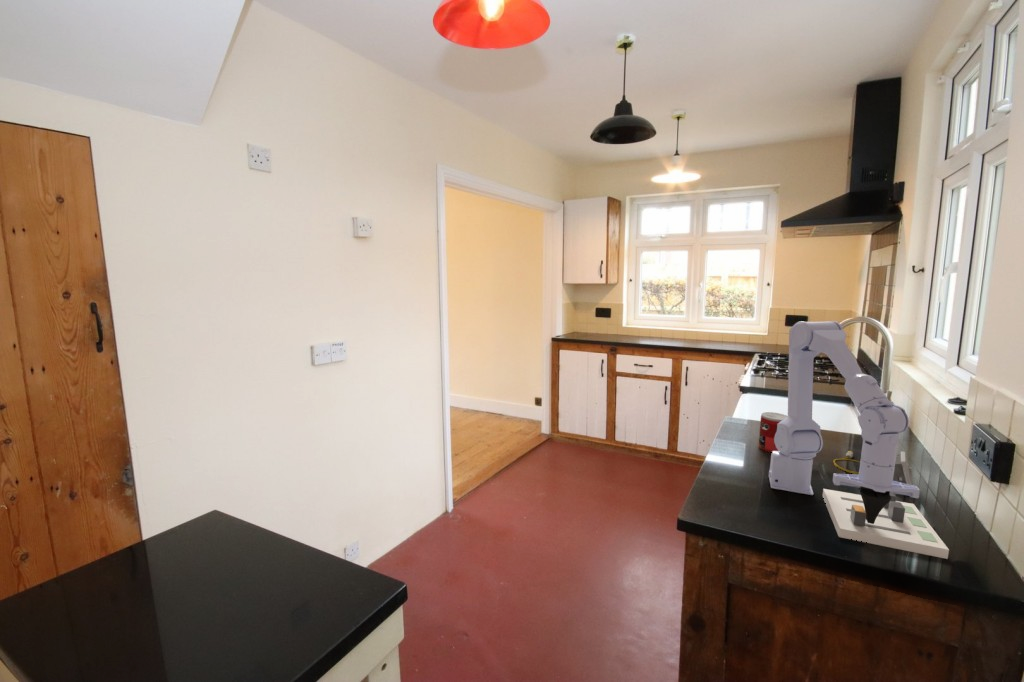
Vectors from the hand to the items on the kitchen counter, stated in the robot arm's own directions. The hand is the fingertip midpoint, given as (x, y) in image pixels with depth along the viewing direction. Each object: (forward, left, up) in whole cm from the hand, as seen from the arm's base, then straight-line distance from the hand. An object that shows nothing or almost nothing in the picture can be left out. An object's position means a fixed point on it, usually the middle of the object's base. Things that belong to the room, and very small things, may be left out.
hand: (869, 521), depth 101 cm
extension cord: (+7, +42, -4) cm, 43 cm away
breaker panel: (+3, +6, -3) cm, 7 cm away
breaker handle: (-2, 0, -1) cm, 2 cm away
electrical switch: (+13, +29, -3) cm, 32 cm away
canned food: (-15, +46, -3) cm, 48 cm away
